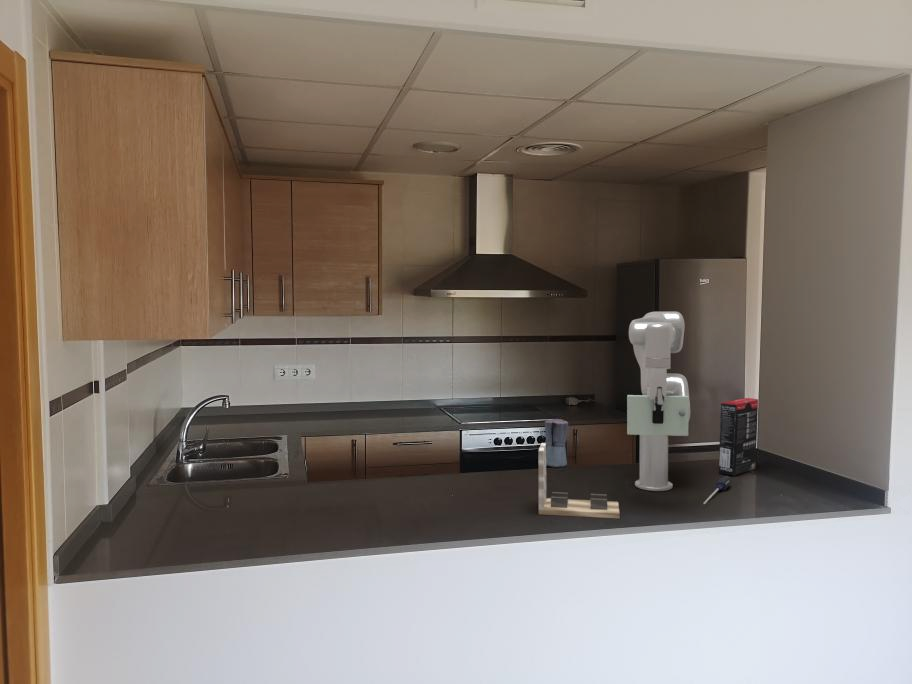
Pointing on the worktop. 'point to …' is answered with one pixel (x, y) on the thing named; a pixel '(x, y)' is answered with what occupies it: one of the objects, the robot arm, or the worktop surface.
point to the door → (672, 418)
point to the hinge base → (570, 507)
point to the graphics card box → (738, 436)
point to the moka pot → (556, 442)
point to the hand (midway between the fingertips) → (657, 422)
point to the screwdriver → (720, 486)
